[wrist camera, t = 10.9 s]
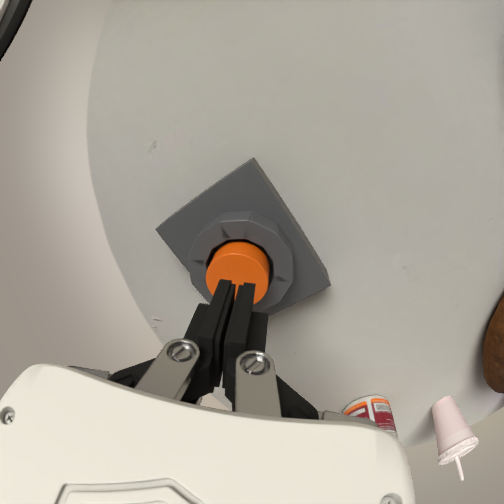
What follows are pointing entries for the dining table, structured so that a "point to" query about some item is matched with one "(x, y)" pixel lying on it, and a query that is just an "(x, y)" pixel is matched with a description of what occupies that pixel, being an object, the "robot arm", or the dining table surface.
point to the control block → (246, 236)
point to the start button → (239, 267)
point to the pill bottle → (373, 411)
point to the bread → (495, 350)
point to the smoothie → (452, 433)
